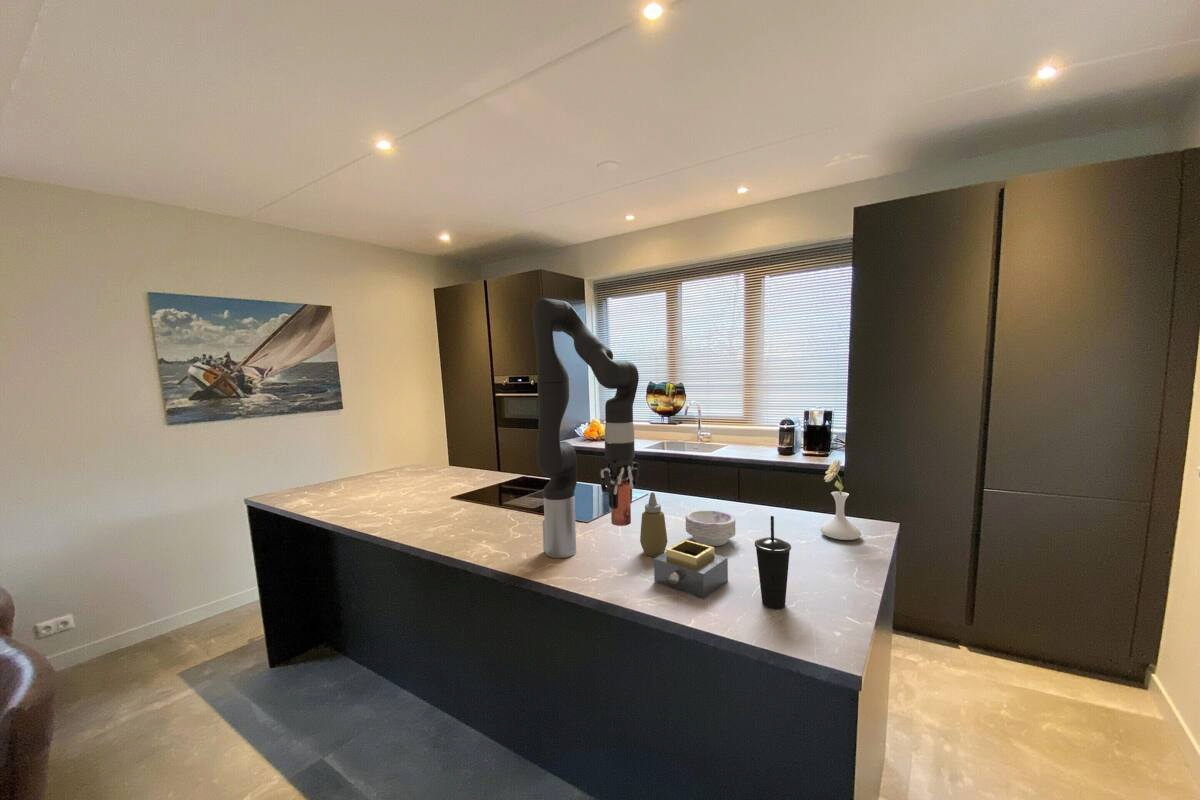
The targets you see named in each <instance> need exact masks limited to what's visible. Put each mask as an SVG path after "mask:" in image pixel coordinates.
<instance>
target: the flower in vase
mask: <svg viewBox="0 0 1200 800" xmlns="http://www.w3.org/2000/svg"><path fill="white" fill-rule="evenodd" d="M841 464H842V463H841V460H840V459H835V460H834V461H833V462H831V463H830V464H829V467H828V470H826V471H825V476H824V478H823V480H825V481H824V482H826V483H830V482H831V481H832V480H834V478H836V476H837V478H838V479H837V480H836V481H835V483H834V486H835V488H837V489H838V490H839V491H832V492H830V494H831V495H832V497H833V499H834V502H835V515H834V517H833V518H831V519H829V520H827V521H826V522H825V523H823V524H822V525H821V526H820V529H819V530H820V532H821V534H822V535H824V536H826V537H828V538H831V539H833V540H834V539H835V540H840V541H851V540H852V541H854V540H857V539H860V538H861V536H862V533H861V530H860V529H859V528H858V527H857V526H856V525H855V524H853V523H852V522H850V520H849V519H847V517H846V515H845V506H846V505H845V504H846V500H847V498H849V495H850V494H849V493H848V492H844V491H843V489H844V485H843V483H842V480H841V477H840V475H839V474H838V473H839V471H840V468H841V467H842V465H841Z"/></svg>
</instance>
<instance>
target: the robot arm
mask: <svg viewBox="0 0 1200 800" xmlns="http://www.w3.org/2000/svg"><path fill="white" fill-rule="evenodd" d="M532 324H533V333H534V340H535V350H536V363H537V365H536V367H537V370H536V371H537V379H536V380H537V384H536V385H537V400H538V403H537V404H538V405H537V406H538V409H537V410H538V411H537V413H538V432H537V445H536V464H537V467H538V469H539V471H540V472H541V473H542V474H543V475H544V476H546V477H550V478H549V481H548V482H547V483H546V485H544V487H543V492H542V493H543V514H544V516H543V518H544V520H543V521H542V541H543V542H542V545H543V552H544V553H545V556H547V557H549V558H553V559H565V558H570V557H572V556H573V555H575V554H576V553H577V537H576V536H577V533H576V531H577V530H576V505H575V503H576V500H575V499H576V498H575V489H576V486H577V484H578V483H577V482H578V458H577V453H576V450H575V447H574V445H572V444H571V443H569V442H568V441H561V435H560V434H561V426H562V425H561V424H562V422H563V420H564V419H563V418H564V415H565V413H566V411H567V408H568V405H569V400H570V378H569V374H568V371H567V369H566V367H565V365H564V363H563V360H562V359H561V358H560V356H559V354H558V352H557V350H556V347H555V342H554V332H558V333H560V332H561V333H562V332H563V333H565V334H566V335H568V336H570V337H571V338H572V339H573V347H574V350H575V352H576V353H577V355H578V357H580V358H581V360H582V361H584V362H585V363H586V365H588V366H589V367H590V369H591V371H592V373H593V375H594V376H595V379H596V380H597V383H599V385H601V386H602V387H603V388H605V389H608V390H616V391H615V394H614V397H612V398H609V399H607V400H606V402H605V405H604V406H605V407H604V408H605V410H604V411H605V412H604V414H605V415H604V416H605V419H604V420H605V425H604V454H605V455H604V457H605V459H606V460H607V465H606V468H604V469H598V473H597V474H598V476H599V477H598V478H599V483H600V487H601V491H602V493H606V494H608V506H609V508H610V509H611V508H612V509H617V508H618V495H617V490H618V486H619V485H620V484H621V480H622V479H623V482H628V483H630V499H631V504H632V500H633V490H634V487H635V486H638V485H639V484H638V483H639V477H640V469H641V468H640V467H641V463H640V462H635V461H633V459H634V458H635V457H636V456H635V452H636V451H635V427H634V409H633V408H634V403H635V398H636V395H637V391H638V387H639V379H640V378H639V377H640V376H639V375H640V374H639V371H638V368H637V365H636V364H635V363H634V362H632V361H629V360H614V354H613V351H612V350H611V349H610V347H609V346H608V345H606V343H604V342H603V341H602V340H601V339H600V338H598V337H597V335H596V334H594V332H592V331H591V330H590V328H589V327H588V326H587V325H586V323H585V322H584V321H583V319H582V318H581V316H580V315H579V314H578V313H577V311H576V310H575V308H573V306H572V305H571V304H570V303H569V302H567V301H565V300H561V299H552V298H546V297H545V298H543V297H542V298H539V299H537V301H535V303H534V305H533V309H532ZM613 484H614V488H613V489H612V485H613Z"/></svg>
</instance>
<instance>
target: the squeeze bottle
mask: <svg viewBox="0 0 1200 800" xmlns="http://www.w3.org/2000/svg"><path fill="white" fill-rule="evenodd" d="M640 523H641V525H640V536H639V537H640V538H639V542H640V544H641V547H642V551H643V554H644V555H646V556H649V557H658V556H660V555H662V554H664V553H665V552H666V549H667V548H666V547H667V545H668V535H667V526H666V518H665V513H664V512H663V511H662V505H661V504H660V503H658V502H657V497H656V493H655V492H650V494H649V498H648V503H645V505H644V511H643V512H641V522H640Z"/></svg>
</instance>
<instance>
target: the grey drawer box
mask: <svg viewBox="0 0 1200 800" xmlns="http://www.w3.org/2000/svg"><path fill="white" fill-rule="evenodd" d="M728 564H729V563H728V557H726V556H723V555H719V554H717V553H715V546H707V545H703V544H699V543H697V542H696V541H695V542H694V541H692V540H688V539H684V540H682V541H680V542H678V543H676V544H674V545H672V546H671V547H668V548H665V552H664V554H662V555H660V556H655V558H653V572H654V573H653V574H654V575H653V576H654V577H653V578H654V579H653V581H654V583H656V584H659V585H663V586H665V587H668V588H671V589H674V590H676V591H679V592H681V593H685V594H687V595H690V596H693V597H697V598H699V599H702V600H705V599H706V598H708V597H709V596H710V595H712V593H714V592H715V591H717V590H718V589H720V588H721V587H722V586H723V585H724V584H726V583H727V582H728V581H729V575H728V574H729V567H728V566H729V565H728Z"/></svg>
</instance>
